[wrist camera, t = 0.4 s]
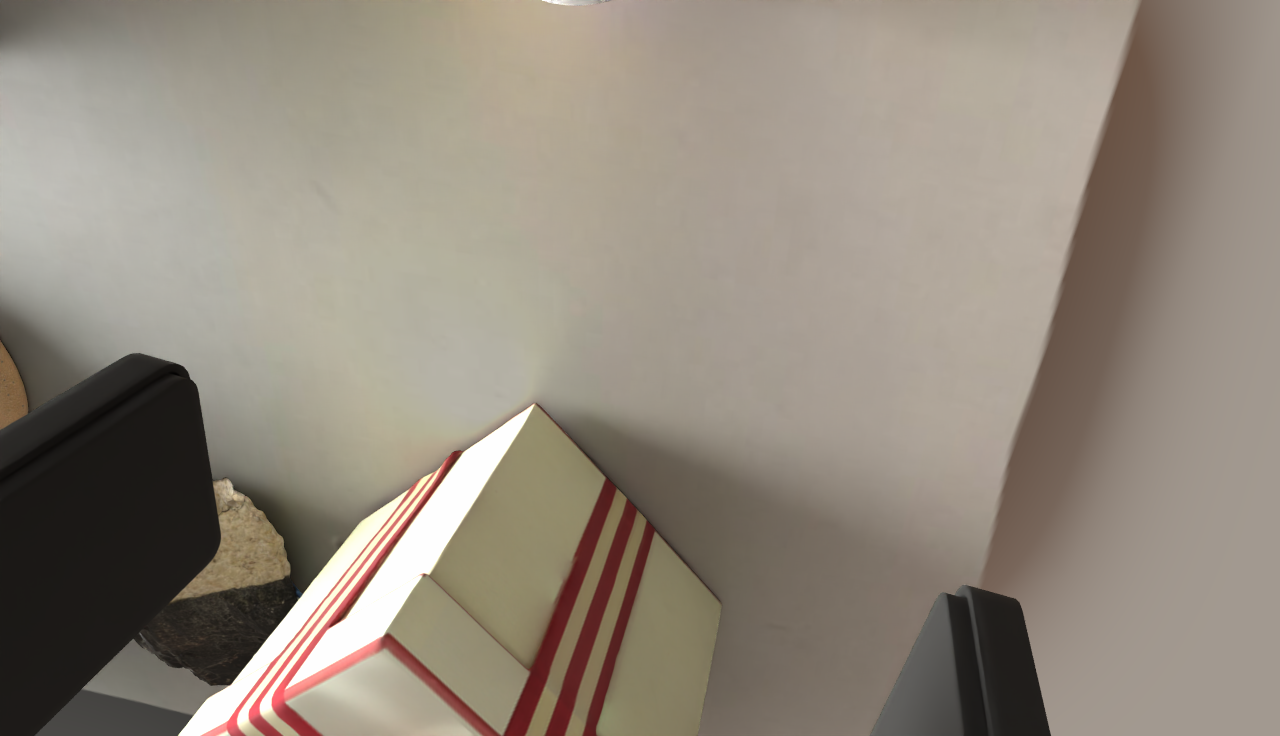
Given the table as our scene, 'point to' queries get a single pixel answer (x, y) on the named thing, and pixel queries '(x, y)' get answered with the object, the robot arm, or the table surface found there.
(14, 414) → the candle holder
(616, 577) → the gift box
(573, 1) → the supplement bottle
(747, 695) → the table surface
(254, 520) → the mineral specimen
